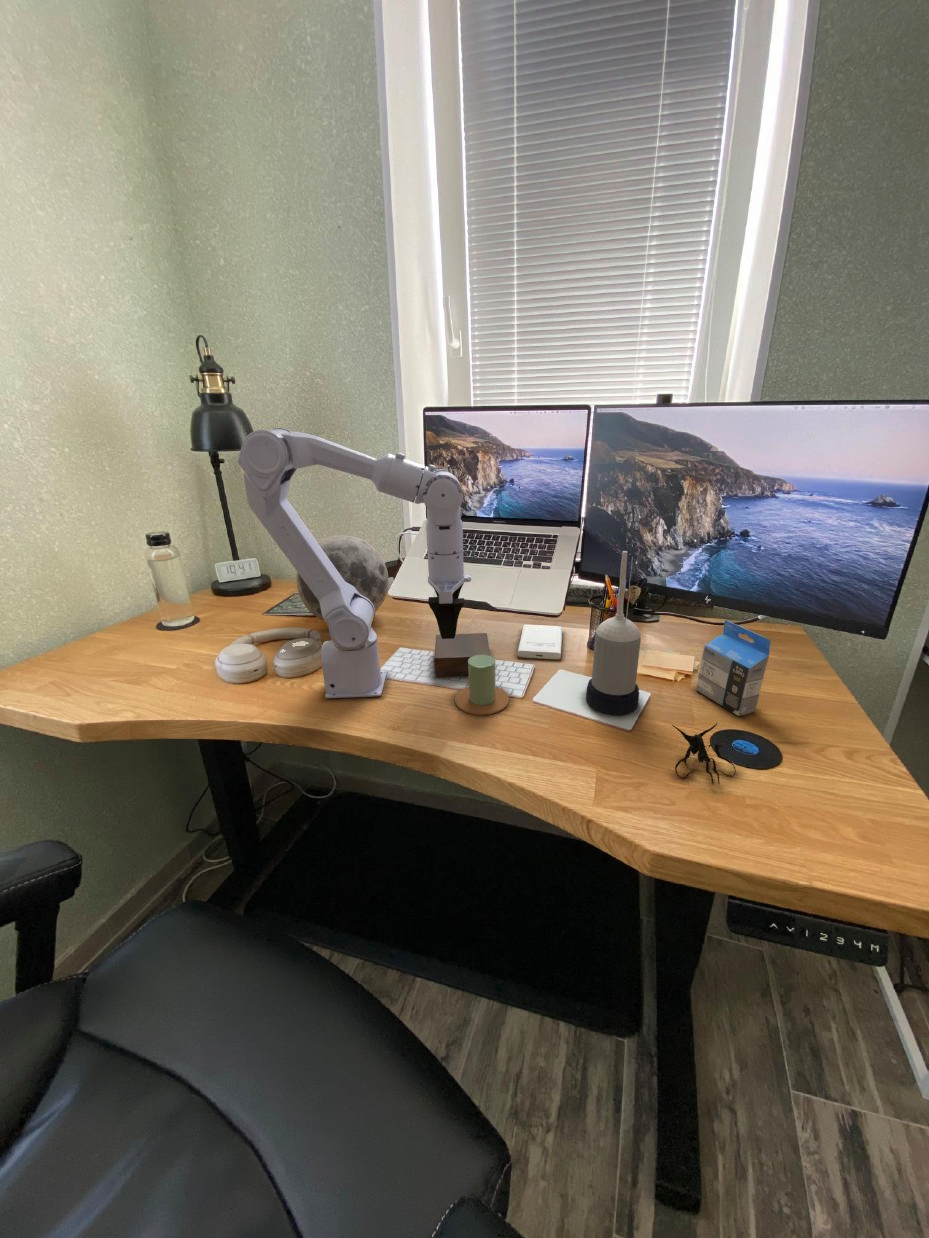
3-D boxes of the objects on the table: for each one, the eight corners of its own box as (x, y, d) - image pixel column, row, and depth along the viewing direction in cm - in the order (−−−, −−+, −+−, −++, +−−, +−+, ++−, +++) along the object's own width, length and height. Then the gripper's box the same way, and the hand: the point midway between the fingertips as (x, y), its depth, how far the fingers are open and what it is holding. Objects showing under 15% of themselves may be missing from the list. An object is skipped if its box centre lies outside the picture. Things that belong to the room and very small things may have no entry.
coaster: (454, 716, 79) (454, 714, 79) (454, 687, 88) (454, 685, 88) (511, 714, 79) (511, 712, 79) (506, 685, 88) (506, 683, 88)
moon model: (303, 612, 123) (289, 531, 115) (384, 601, 128) (377, 523, 120) (304, 645, 105) (288, 552, 97) (399, 631, 110) (391, 542, 103)
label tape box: (694, 690, 84) (705, 622, 79) (713, 685, 86) (725, 618, 81) (737, 717, 77) (752, 644, 72) (757, 711, 78) (774, 639, 73)
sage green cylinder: (469, 705, 81) (468, 667, 79) (468, 691, 86) (467, 655, 83) (496, 704, 81) (496, 666, 79) (494, 690, 86) (494, 654, 83)
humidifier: (616, 684, 87) (630, 542, 77) (649, 708, 80) (668, 555, 70) (576, 694, 84) (585, 549, 74) (605, 720, 77) (619, 563, 67)
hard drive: (562, 633, 107) (560, 660, 96) (523, 631, 109) (517, 657, 97) (562, 626, 106) (560, 652, 95) (523, 624, 108) (517, 649, 97)
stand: (435, 677, 91) (434, 658, 89) (437, 652, 100) (435, 634, 99) (490, 675, 91) (490, 656, 89) (487, 651, 100) (486, 632, 99)
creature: (743, 791, 64) (715, 742, 70) (756, 764, 61) (725, 715, 67) (681, 794, 64) (659, 745, 70) (692, 767, 60) (667, 718, 67)
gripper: (471, 562, 74) (473, 646, 79) (469, 538, 87) (471, 611, 92) (423, 564, 74) (428, 647, 79) (428, 540, 87) (432, 612, 92)
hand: (448, 628), depth 86 cm, fingers open, 7 cm apart
